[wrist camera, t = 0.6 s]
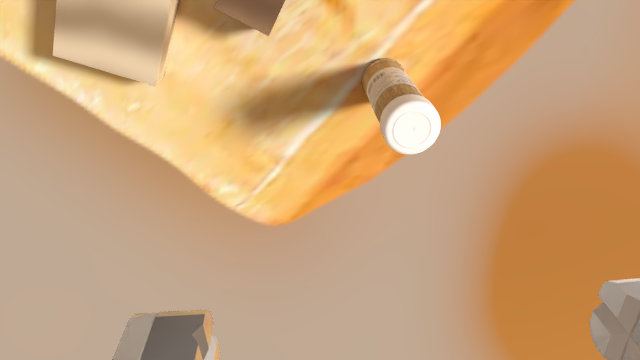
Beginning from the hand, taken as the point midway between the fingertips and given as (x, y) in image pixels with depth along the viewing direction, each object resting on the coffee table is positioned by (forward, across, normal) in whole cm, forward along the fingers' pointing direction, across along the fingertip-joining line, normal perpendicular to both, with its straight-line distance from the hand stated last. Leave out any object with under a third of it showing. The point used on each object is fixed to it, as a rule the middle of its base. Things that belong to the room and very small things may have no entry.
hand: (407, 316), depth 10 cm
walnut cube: (+39, +6, -2) cm, 40 cm away
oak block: (+39, +18, 0) cm, 43 cm away
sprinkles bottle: (+39, -6, +7) cm, 40 cm away
